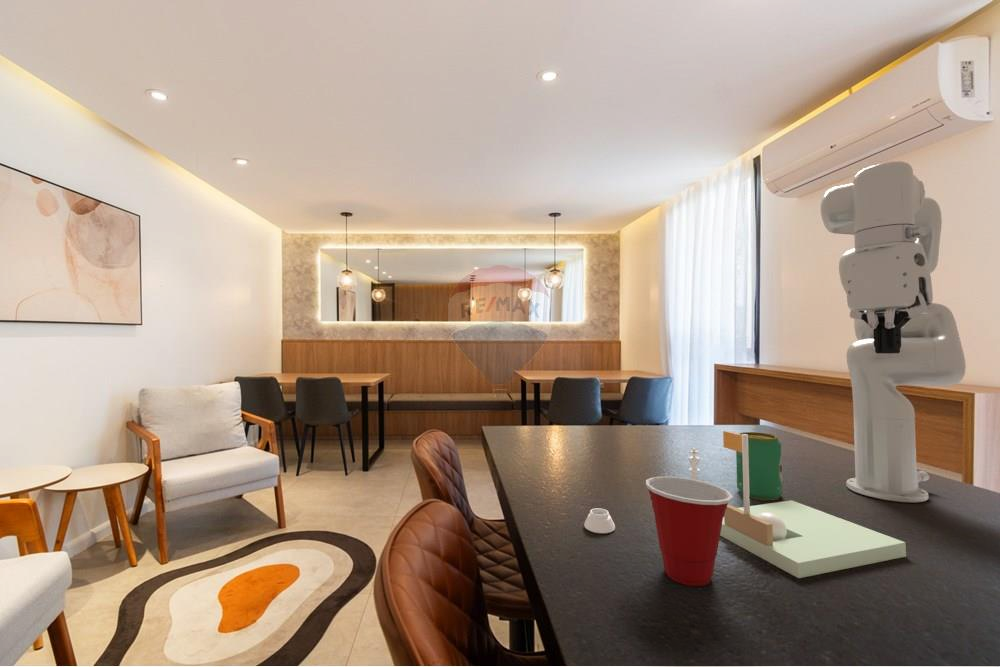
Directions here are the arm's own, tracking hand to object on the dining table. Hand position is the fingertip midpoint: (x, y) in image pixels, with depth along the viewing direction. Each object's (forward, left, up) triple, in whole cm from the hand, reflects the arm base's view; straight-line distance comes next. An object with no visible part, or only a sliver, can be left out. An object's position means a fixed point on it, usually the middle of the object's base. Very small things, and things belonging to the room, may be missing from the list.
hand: (887, 353), depth 72 cm
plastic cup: (+40, +1, -29) cm, 50 cm away
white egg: (+22, -3, -27) cm, 35 cm away
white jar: (+44, -16, -30) cm, 55 cm away
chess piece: (+19, -23, -29) cm, 42 cm away
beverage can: (+5, -21, -29) cm, 36 cm away
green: (+17, -3, -29) cm, 34 cm away
